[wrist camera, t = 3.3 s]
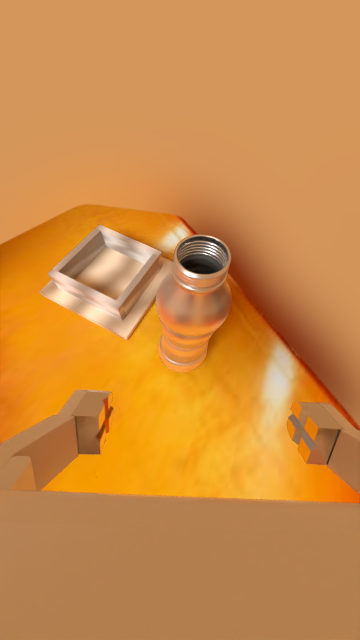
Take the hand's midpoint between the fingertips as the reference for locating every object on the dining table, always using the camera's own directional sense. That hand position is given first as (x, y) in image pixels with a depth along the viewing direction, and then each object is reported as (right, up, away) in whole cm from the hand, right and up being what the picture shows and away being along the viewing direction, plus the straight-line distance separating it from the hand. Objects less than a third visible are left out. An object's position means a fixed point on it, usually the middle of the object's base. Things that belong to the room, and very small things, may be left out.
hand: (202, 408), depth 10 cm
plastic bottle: (-1, -1, +22) cm, 22 cm away
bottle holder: (-12, +11, +27) cm, 31 cm away
